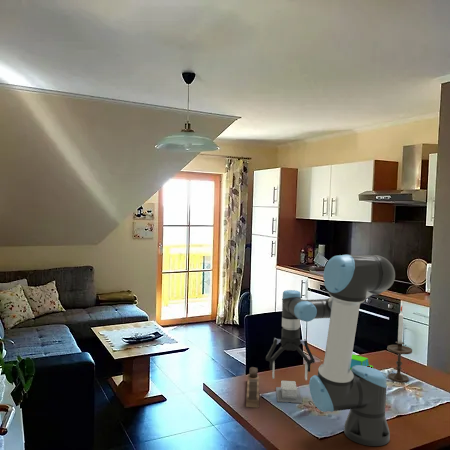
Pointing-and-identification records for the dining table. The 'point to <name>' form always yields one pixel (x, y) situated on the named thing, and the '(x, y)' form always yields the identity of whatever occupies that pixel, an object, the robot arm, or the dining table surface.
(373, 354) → the dining table surface
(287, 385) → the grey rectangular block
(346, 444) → the dining table surface
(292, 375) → the dining table surface
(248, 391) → the plane body
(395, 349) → the candlestick
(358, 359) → the toy block
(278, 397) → the grey mat
